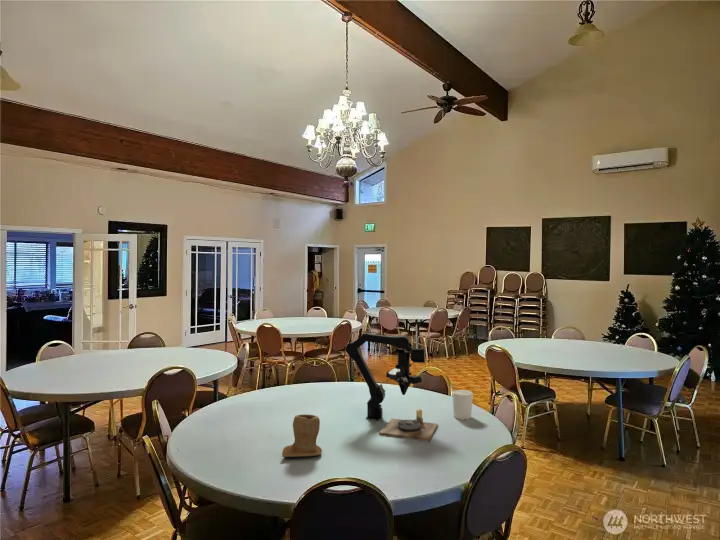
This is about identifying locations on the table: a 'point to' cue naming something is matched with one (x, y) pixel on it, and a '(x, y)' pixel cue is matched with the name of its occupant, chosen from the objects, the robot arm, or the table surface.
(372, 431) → the table surface
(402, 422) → the dial
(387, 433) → the base plate
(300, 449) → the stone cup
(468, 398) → the candle holder
